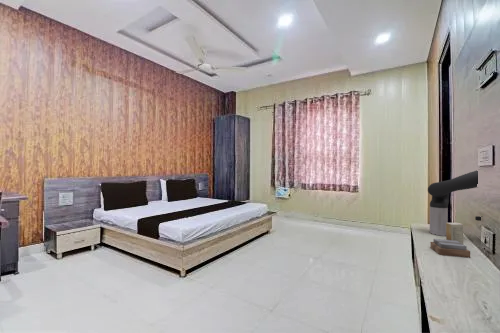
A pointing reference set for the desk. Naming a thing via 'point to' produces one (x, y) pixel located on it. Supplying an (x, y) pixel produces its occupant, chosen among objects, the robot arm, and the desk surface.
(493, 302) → the desk surface
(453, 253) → the metal plate on wood
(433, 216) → the robot arm
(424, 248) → the desk surface
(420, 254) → the desk surface
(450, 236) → the skincare box
